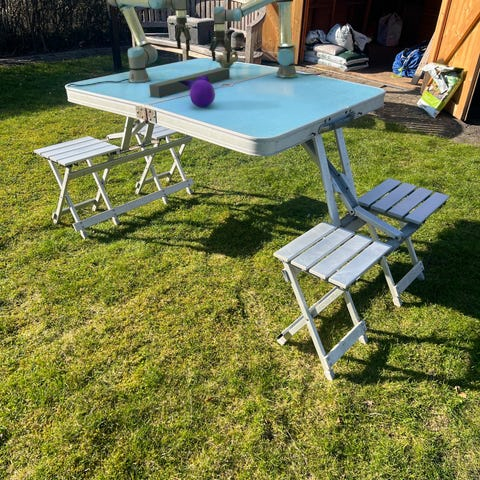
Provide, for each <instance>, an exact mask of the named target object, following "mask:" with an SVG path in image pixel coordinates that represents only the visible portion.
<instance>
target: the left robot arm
mask: <svg viewBox="0 0 480 480" xmlns="http://www.w3.org/2000/svg"><path fill="white" fill-rule="evenodd" d="M107 2H108V4H110V5H111V6H112V7H118V9H119V11H120V12H122V13H123V16H124V18H125V20H126V24H127V25H128V28H129V30H130V32H131V34H132V38H133V40H134V42H135V45H136V46H133V47H129V48H128V49H127V57H128V66H129V76H128V78H125V79H122V80H116V81H115V80H106V81H105V80H104V81H98V82H94V83H87V84H76V83H69V84H70V85H69V84H68V85H67V87H70V86H75V87H86V86H92V85H96V84H103V83H122V82H125V81H128V82H129V83H133V84H141V83H148V82H150V75H149V73H148V71H147V67H146V65H148V64H152V63H154V62H156V61H157V60H158V50H157V48H156V47H154V46H153V45H152V43H151V41H149V40H148V39H147V37H146V34H145V32H144V29H143V27H142V25H141V22H140V19H139V18H138V14H137V13H136V10H135V7H139V8H140V7H141V8H149V9H153V10H160V9H167V8H173V9H174V10H175V17H176V18H175V22H176V24H175V31H174V32H175V33H174V38H175V39H176V47H177V48H176V49H178V50H179V49H180V50H181V49H182V42H181V41H182V39H181V37H182V34H183V36H184V39H185V51H186V52H189V51H191V45H190V44H191V41H192V36H191V32H190V30H189V25H188V24H187V23H188V19H187V13H188V12H187V3H186V2H187V1H186V0H107ZM186 24H187V25H186ZM72 131H73V134H75V133H76V132H75V129H73V130H72Z"/></svg>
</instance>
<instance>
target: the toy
mask: <svg viewBox="0 0 480 480" xmlns="http://www.w3.org/2000/svg"><path fill="white" fill-rule="evenodd" d="M179 82H180V83H182V84H184V85H186V86H188V87H189V88H191V89H190V90H189V97H190V101H191V103H192V104H193V105H194V106H196V107H198V108H203V109H205V108H208V107H210V106H211V105H212V104H213V102H214V101H215V98H216V91H215V88H214V85H213V83H212V84H211V83H210V82H209V78H208V76H202V77H198V79H197V81H179Z"/></svg>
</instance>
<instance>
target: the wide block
mask: <svg viewBox="0 0 480 480" xmlns="http://www.w3.org/2000/svg"><path fill="white" fill-rule="evenodd" d="M230 74H231V72H230V67H229V68H222V67H217V68H213V69H209V70H205V71H201V72H197V73H192V74H188V75H184V76H180V77H176V78H172V79H167V80H163V81H159V82H154V83H151V84H149V85H148V87H149V96H150V97H153V98H159V99H160V98H164V97H168V96H172V95H176V94H179V93H182V92H186V91H190V89H191V88H189V87H188V86H186V85H184V84H182V83H180V82H179V81H197V79H198V77H202V76H208V78H209V82H210V83H211V84H212V85H213V84H215V83H219V82H223V81H226V80H230V79H231V75H230Z"/></svg>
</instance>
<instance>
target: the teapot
mask: <svg viewBox="0 0 480 480" xmlns="http://www.w3.org/2000/svg"><path fill="white" fill-rule="evenodd" d="M232 51H233V52H231V53H230V62H229V63H227V54H226V53H227V51H226V50H225V48H224V50H223V51H222V54H218V55H217V56H215V58H216V61H215V62H216V63H218V64H219V66H220V68H229V69H230V68H231V67H232V66H233V65H234V63H236V62H237V61H238V59H239V55H238V51H237V50H232ZM233 56H234V57H233Z"/></svg>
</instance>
